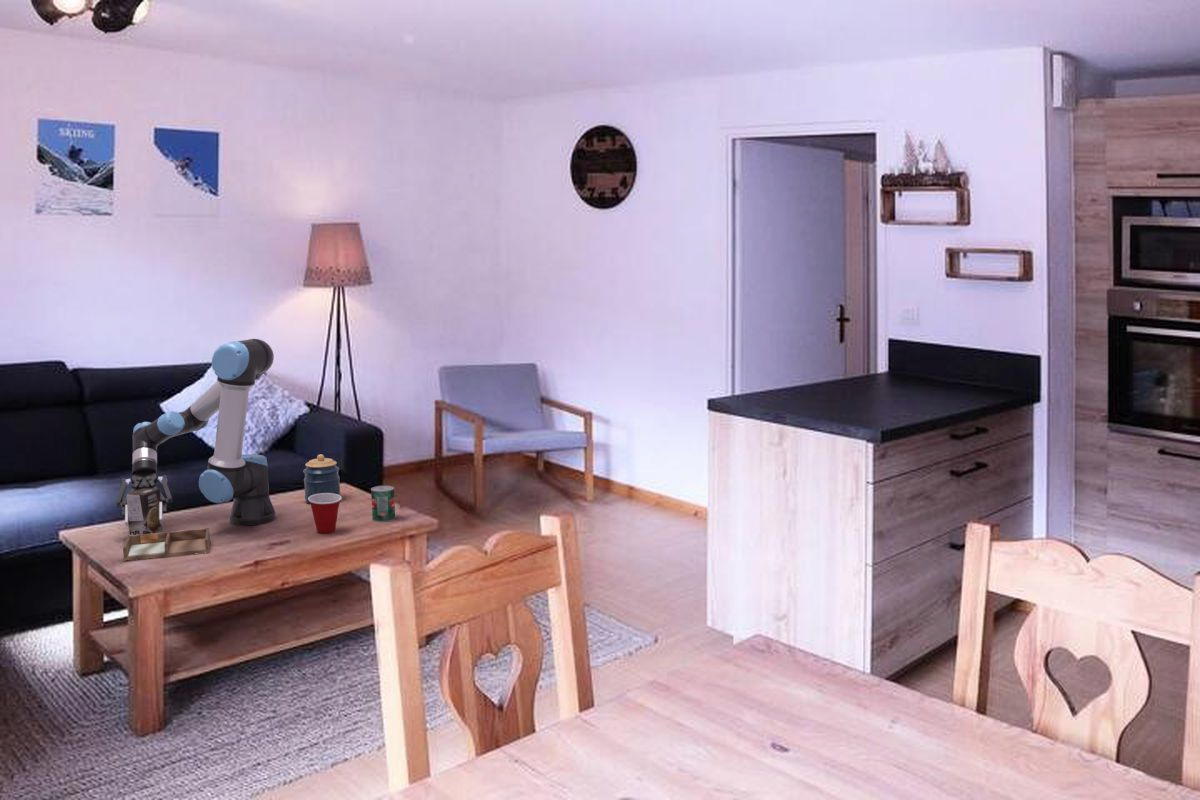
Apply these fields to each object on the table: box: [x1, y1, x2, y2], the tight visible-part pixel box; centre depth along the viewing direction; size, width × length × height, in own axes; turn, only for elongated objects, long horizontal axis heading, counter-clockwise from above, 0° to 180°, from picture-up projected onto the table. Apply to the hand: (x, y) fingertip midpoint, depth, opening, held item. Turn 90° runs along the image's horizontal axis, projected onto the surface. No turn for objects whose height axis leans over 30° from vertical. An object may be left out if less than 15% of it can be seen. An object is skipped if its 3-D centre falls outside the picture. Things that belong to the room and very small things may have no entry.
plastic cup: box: [308, 493, 343, 535], centre depth 337 cm, size 11×11×12 cm
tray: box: [122, 527, 211, 562], centre depth 318 cm, size 24×14×4 cm, turn 109°
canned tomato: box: [370, 485, 396, 523], centre depth 352 cm, size 8×8×11 cm
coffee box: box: [125, 488, 164, 536], centre depth 330 cm, size 9×6×16 cm
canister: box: [302, 453, 342, 505], centre depth 378 cm, size 13×13×18 cm
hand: (144, 522), depth 327 cm, fingers closed on coffee box, 9 cm apart
